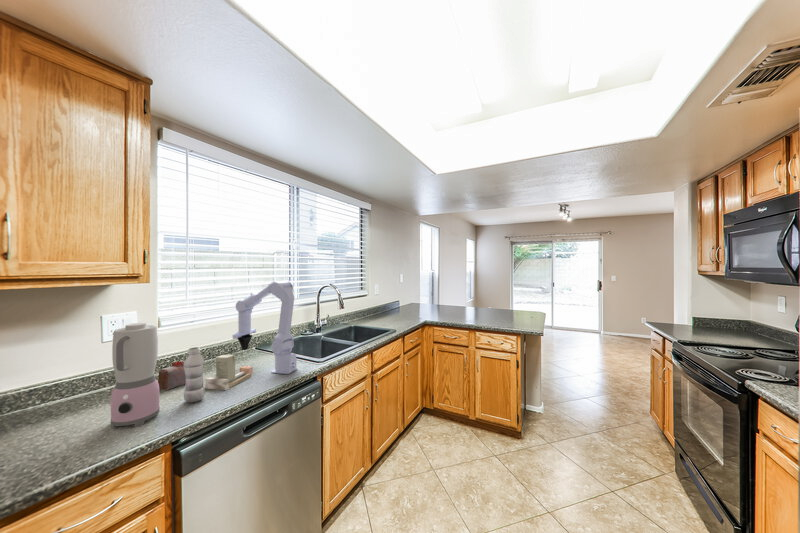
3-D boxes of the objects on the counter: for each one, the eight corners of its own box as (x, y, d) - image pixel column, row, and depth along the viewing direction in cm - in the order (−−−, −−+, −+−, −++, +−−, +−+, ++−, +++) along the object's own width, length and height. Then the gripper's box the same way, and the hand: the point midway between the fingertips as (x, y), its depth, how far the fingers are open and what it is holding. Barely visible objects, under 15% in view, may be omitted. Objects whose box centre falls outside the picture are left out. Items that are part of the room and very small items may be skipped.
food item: (186, 377, 137) (186, 356, 137) (200, 379, 135) (200, 357, 135) (155, 389, 124) (155, 365, 124) (169, 391, 122) (169, 367, 122)
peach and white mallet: (252, 372, 142) (252, 364, 142) (234, 381, 131) (234, 372, 131) (243, 372, 143) (243, 363, 143) (225, 381, 132) (225, 372, 132)
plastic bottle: (194, 405, 109) (194, 351, 109) (179, 403, 110) (178, 350, 110) (208, 398, 115) (208, 346, 115) (194, 396, 116) (194, 345, 116)
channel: (251, 376, 137) (251, 368, 137) (225, 390, 122) (225, 380, 122) (232, 375, 139) (232, 366, 139) (205, 388, 124) (205, 378, 124)
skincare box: (235, 382, 130) (235, 354, 130) (228, 386, 126) (228, 357, 126) (223, 381, 132) (223, 354, 132) (215, 385, 127) (215, 357, 127)
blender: (125, 413, 103) (125, 322, 103) (166, 408, 106) (166, 320, 106) (92, 438, 88) (92, 331, 88) (142, 432, 91) (142, 328, 91)
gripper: (247, 320, 161) (248, 345, 161) (227, 325, 146) (227, 353, 146) (259, 321, 159) (259, 346, 159) (239, 326, 145) (239, 353, 145)
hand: (244, 349), depth 153 cm, fingers closed
